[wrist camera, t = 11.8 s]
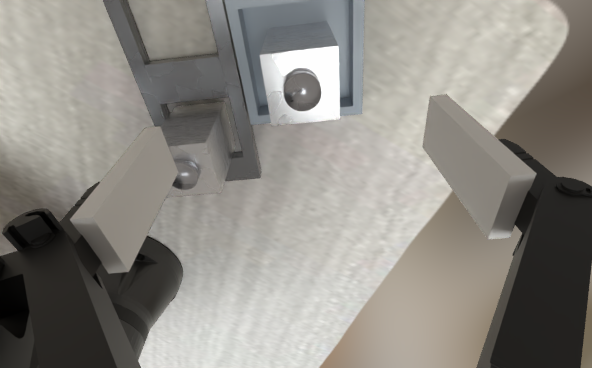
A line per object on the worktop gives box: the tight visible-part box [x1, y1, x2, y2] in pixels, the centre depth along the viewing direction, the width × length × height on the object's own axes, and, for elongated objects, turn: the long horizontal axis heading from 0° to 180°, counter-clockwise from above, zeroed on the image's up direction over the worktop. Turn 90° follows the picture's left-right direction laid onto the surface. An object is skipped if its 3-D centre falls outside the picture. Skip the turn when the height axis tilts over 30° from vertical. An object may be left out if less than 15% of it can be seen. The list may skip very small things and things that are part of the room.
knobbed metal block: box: [260, 21, 340, 126], centre depth 23 cm, size 5×5×9 cm
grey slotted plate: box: [103, 0, 261, 181], centre depth 28 cm, size 22×9×1 cm, turn 6°
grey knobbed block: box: [161, 101, 236, 197], centre depth 28 cm, size 5×5×9 cm
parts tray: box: [225, 0, 365, 125], centre depth 26 cm, size 10×10×3 cm
